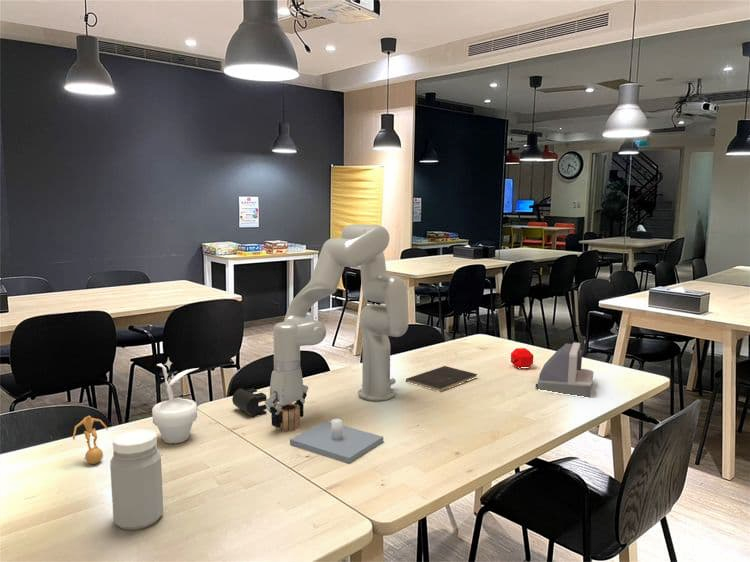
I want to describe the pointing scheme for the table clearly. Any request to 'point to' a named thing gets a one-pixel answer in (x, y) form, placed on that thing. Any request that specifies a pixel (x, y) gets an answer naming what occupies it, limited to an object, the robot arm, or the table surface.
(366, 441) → the post stand
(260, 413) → the end cap
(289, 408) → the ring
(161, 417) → the potted plant
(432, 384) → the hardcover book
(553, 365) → the grey angular piece
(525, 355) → the ball
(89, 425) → the figurine
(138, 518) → the jar
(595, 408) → the table surface
